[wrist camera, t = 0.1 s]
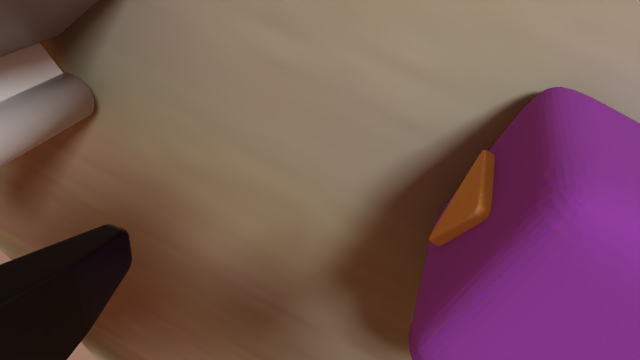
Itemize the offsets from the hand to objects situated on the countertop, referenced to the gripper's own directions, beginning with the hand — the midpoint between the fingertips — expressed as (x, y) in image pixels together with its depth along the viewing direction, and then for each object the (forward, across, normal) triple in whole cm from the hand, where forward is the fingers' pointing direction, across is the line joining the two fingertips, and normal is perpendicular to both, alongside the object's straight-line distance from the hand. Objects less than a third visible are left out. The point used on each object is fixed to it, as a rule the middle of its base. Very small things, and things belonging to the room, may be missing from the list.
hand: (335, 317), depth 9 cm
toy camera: (+15, -7, +6) cm, 18 cm away
